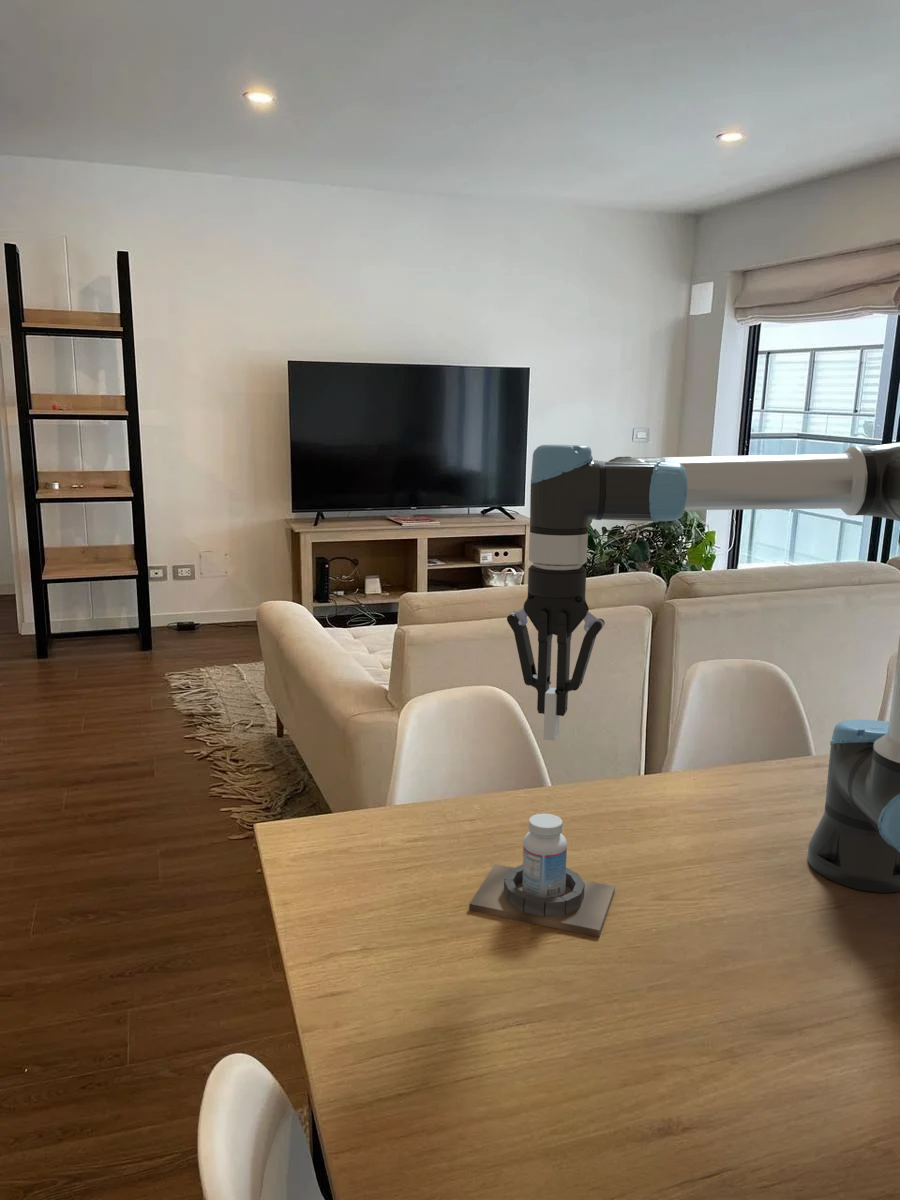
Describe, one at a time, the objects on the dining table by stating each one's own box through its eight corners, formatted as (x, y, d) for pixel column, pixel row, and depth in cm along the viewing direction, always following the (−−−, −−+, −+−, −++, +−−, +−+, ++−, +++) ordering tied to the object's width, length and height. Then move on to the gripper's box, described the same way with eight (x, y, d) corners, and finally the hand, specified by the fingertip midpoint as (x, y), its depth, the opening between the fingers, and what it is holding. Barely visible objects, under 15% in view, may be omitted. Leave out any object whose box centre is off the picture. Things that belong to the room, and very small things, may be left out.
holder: (614, 892, 127) (615, 873, 126) (599, 937, 116) (600, 916, 115) (494, 870, 133) (495, 851, 132) (469, 910, 122) (469, 890, 121)
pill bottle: (564, 885, 127) (567, 812, 124) (565, 907, 121) (568, 831, 119) (521, 882, 127) (524, 809, 125) (521, 904, 121) (523, 828, 119)
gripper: (612, 563, 116) (604, 734, 121) (516, 557, 121) (512, 722, 125) (602, 572, 109) (593, 752, 114) (501, 565, 114) (497, 739, 118)
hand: (551, 736), depth 120 cm, fingers closed
